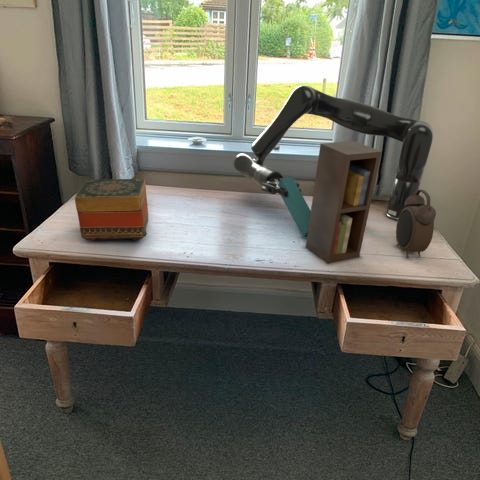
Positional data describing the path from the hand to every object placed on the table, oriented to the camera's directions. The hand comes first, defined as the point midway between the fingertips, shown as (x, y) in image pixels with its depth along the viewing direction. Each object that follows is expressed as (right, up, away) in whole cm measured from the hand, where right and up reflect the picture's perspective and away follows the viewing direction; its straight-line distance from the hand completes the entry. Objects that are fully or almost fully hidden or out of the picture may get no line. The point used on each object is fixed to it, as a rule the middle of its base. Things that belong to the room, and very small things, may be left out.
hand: (293, 193), depth 162 cm
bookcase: (+11, -22, -12) cm, 27 cm away
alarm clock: (+35, -21, -8) cm, 42 cm away
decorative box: (-57, -15, -9) cm, 60 cm away
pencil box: (+1, -6, +1) cm, 6 cm away
